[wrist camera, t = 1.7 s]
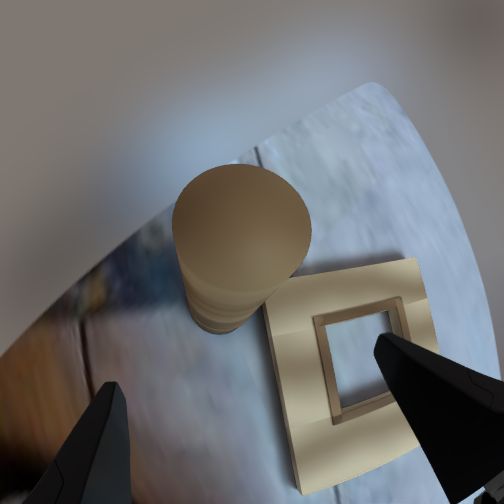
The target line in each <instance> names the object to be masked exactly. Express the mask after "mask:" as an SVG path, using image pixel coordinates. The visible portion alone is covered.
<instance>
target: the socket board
mask: <svg viewBox="0 0 504 504" xmlns="http://www.w3.org/2000/svg"><path fill="white" fill-rule="evenodd" d="M262 308H263V313H264V319H265V324H266V329H267V334H268V339H269V345H270V350H271V355H272V360H273V365H274V371H275V376H276V381H277V386H278V392H279V397H280V402H281V407H282V412H283V418H284V423H285V428H286V433H287V438H288V444H289V449H290V454H291V459H292V464H293V470H294V475H295V480H296V485H297V490H298V491H299V493H300V494H301V495H302V496H304V495H308V494H311V493H314V492H317V491H320V490H323V489H326V488H329V487H331V486H334V485H337V484H340V483H342V482H345V481H347V480H350V479H352V478H355V477H357V476H359V475H362V474H364V473H366V472H369V471H371V470H373V469H375V468H377V467H380V466H382V465H384V464H386V463H388V462H390V461H392V460H394V459H396V458H398V457H400V456H402V455H403V454H405V453H407V452H409V451H411V450H413V449H414V448H416V447H418V446H420V444H419V442H418V440H417V438H416V436H415V434H414V433H413V431H412V429H411V427H410V425H409V424H408V422H407V420H406V418H405V416H404V415H403V413H402V411H401V409H400V408H399V406H398V404H397V402H396V400H395V399H394V397H393V395H392V394H391V392H390V391H387V392H385V393H383V394H380V395H378V396H375V397H373V398H370V399H367V400H365V401H362V402H359V403H357V404H354V405H351V406H348V407H345V408H342V409H341V406H340V401H339V395H338V389H337V384H336V379H335V373H334V368H333V363H332V358H331V353H330V348H329V343H328V338H327V333H326V329H325V326H328V325H333V324H337V323H341V322H345V321H349V320H353V319H357V318H361V317H365V316H369V315H373V314H377V313H380V312H384V311H388V314H389V318H390V322H391V327H392V331H393V334H395V335H397V336H399V337H402V338H404V339H406V340H408V341H410V342H412V343H415V344H417V345H419V346H421V347H423V348H425V349H428V350H430V351H432V352H434V353H436V354H439V349H438V343H437V338H436V333H435V329H434V324H433V319H432V315H431V311H430V307H429V302H428V299H427V295H426V291H425V287H424V283H423V280H422V276H421V273H420V269H419V266H418V263H417V260H416V257H413V258H408V259H402V260H396V261H391V262H385V263H379V264H374V265H368V266H362V267H356V268H350V269H344V270H337V271H331V272H325V273H318V274H312V275H305V276H299V277H292V278H288V279H287V280H286V281H285V282H284V283H283V284H282V285H281V286H280V287H279V288H278V289H277V290H276V291H275V292H274V293H273V294H272V295H271V296H270V297H269V298H268V299H267V300H266V301H265V302H264V303H263V304H262ZM439 355H440V354H439Z"/></svg>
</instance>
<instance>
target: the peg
mask: <svg viewBox="0 0 504 504" xmlns="http://www.w3.org/2000/svg"><path fill="white" fill-rule="evenodd" d="M172 231H173V237H174V242H175V247H176V251H177V256H178V261H179V265H180V270H181V274H182V279H183V283H184V287H185V291H186V296H187V303H188V307H189V310H190V312H191V315H192V318H193V320H194V321H195V323H196V324H197V325H198V326H199V327H200V328H201V329H203V330H204V331H206V332H208V333H211V334H218V335H221V334H227V333H230V332H232V331H234V330H236V329H237V328H238V327H239V326H241V325H242V324H243V323H245V322H246V321H247V320H248V318H249V317H250V316H251V315H252V314H253V313H254V312H255V311H256V310H257V309H258V308H259V307H260V306H261V305H262V304H263V303H264V302H265V301H266V300H267V299H268V298H269V297H270V296H271V295H272V294H273V293H274V292H275V291H276V290H277V289H278V288H279V287H280V286H281V285H282V284H283V283H284V282H285V281H286V280H287V279H288V278H289V277H290V276H291V275H292V274H293V273H294V272H295V271H296V270H297V269H298V267H299V266H300V265H301V263H302V262H303V260H304V258H305V257H306V255H307V252H308V250H309V247H310V242H311V233H312V229H311V220H310V216H309V213H308V210H307V207H306V205H305V203H304V201H303V200H302V198H301V197H300V195H299V194H298V192H297V191H296V190H295V189H294V188H293V187H292V186H291V185H290V184H289V183H288V182H287V181H286V180H284V179H283V178H281V177H280V176H278V175H277V174H275V173H273V172H271V171H269V170H266V169H264V168H261V167H257V166H253V165H246V164H229V165H223V166H219V167H215V168H212V169H210V170H207V171H205V172H203V173H202V174H200V175H199V176H197V177H196V178H194V179H193V180H192V181H191V182H190V183H189V184H188V185H187V186H186V187H185V188H184V189H183V191H182V192H181V194H180V196H179V197H178V200H177V202H176V204H175V207H174V211H173V217H172Z"/></svg>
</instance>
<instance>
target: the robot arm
mask: <svg viewBox="0 0 504 504" xmlns="http://www.w3.org/2000/svg"><path fill="white" fill-rule="evenodd" d="M374 357H375V359H376V361H377V364H378V366H379V368H380V370H381V373H382V375H383V377H384V379H385V382H386V384H387V386H388V388H389V390H390V392H391V394H392V395H393V397H394V399H395V400H396V402H397V404H398V406H399V408H400V409H401V411H402V413H403V415H404V416H405V418H406V420H407V422H408V424H409V425H410V427H411V429H412V431H413V433H414V434H415V436H416V438H417V440H418V442H419V444H420V446H421V447H422V449H423V451H424V453H425V455H426V457H427V459H428V461H429V463H430V464H431V466H432V468H433V470H434V472H435V474H436V476H437V478H438V480H439V482H440V484H441V486H442V488H443V490H444V492H445V494H446V496H447V498H448V500H449V502H450V504H458V503H459V502H461V501H463V500H464V499H466V498H467V497H469V496H470V495H472V494H473V493H474V492H476V491H477V490H479V489H480V488H481V487H484V488H485V490H484V491H483V492H482V493H481V494H480V495H479V496H477V497H476V498H475V499H474V503H473V504H504V382H503V381H500V380H497V379H494V378H492V377H489V376H486V375H483V374H481V373H479V372H476V371H474V370H472V369H470V368H467V367H465V366H463V365H461V364H458V363H456V362H454V361H452V360H450V359H447V358H445V357H443V356H441V355H439V354H436V353H434V352H432V351H430V350H428V349H425V348H423V347H421V346H419V345H417V344H415V343H412V342H410V341H408V340H406V339H404V338H402V337H399V336H397V335H395V334H393V333H391V332H386V333H382V334H380V335H379V336H378V338H377V341H376V344H375V348H374ZM22 504H131V482H130V439H129V429H128V418H127V406H126V399H125V396H124V394H123V392H122V390H121V388H120V386H119V384H118V383H117V382H115V381H114V382H105V383H104V384H103V385H102V387H101V388H100V390H99V391H98V392H97V394H96V395H95V397H94V398H93V400H92V401H91V403H90V404H89V406H88V407H87V409H86V410H85V412H84V413H83V415H82V416H81V418H80V419H79V421H78V422H77V424H76V425H75V427H74V428H73V430H72V431H71V433H70V434H69V436H68V437H67V439H66V440H65V442H64V444H63V445H62V447H61V448H60V450H59V451H58V453H57V455H56V456H55V460H53V461H52V462H51V464H50V466H49V467H48V469H47V470H46V472H45V473H44V475H43V476H42V478H41V479H40V480H39V482H38V483H37V484H36V486H35V487H34V489H33V490H32V491H31V492H30V494H29V495H28V496H27V497H26V499H25V500H24V501H23V502H22Z"/></svg>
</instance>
